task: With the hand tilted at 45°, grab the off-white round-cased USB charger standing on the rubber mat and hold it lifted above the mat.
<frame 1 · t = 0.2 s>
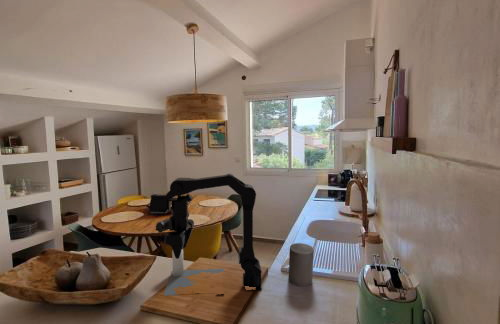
hand: (180, 252, 103), 14 cm above the kitchen counter, tool pointing down, fingers open, 9 cm apart
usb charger: (178, 273, 114), point 1 cm above the kitchen counter, touching desk mat
pillar candle: (300, 280, 112), on the kitchen counter
desk mat: (196, 282, 109), on the kitchen counter
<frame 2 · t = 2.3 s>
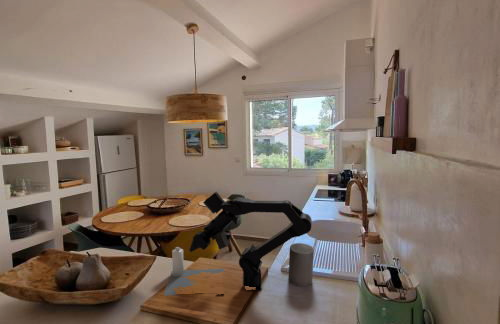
hand: (195, 246, 111), 14 cm above the kitchen counter, tool tilted 45°, fingers open, 9 cm apart
nothing on the kitchen counter moved.
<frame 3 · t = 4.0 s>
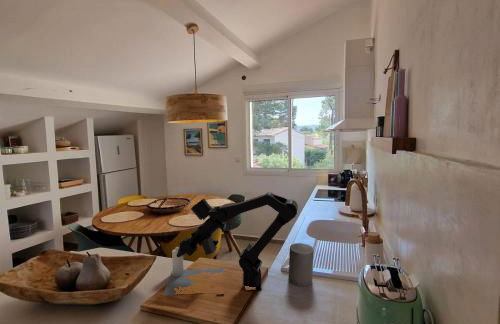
hand: (182, 251, 112), 11 cm above the kitchen counter, tool tilted 45°, fingers open, 9 cm apart
nothing on the kitchen counter moved.
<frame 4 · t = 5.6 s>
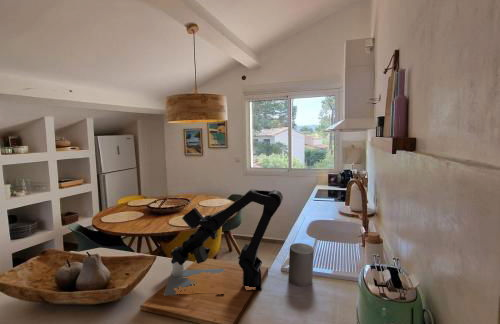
hand: (174, 260, 113), 7 cm above the kitchen counter, tool tilted 45°, fingers closed on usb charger, 4 cm apart
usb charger: (178, 273, 114), point 1 cm above the kitchen counter, touching desk mat, gripper
everything else where it was.
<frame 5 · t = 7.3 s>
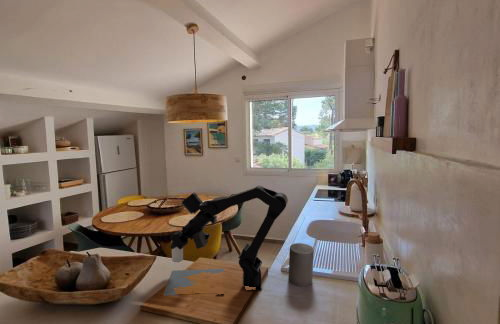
hand: (174, 245, 113), 13 cm above the kitchen counter, tool tilted 45°, fingers closed on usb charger, 4 cm apart
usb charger: (177, 259, 113), point 7 cm above the kitchen counter, touching gripper
everything else where it was.
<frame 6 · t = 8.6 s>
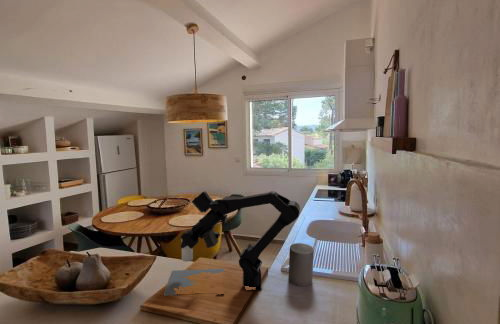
hand: (184, 245, 112), 14 cm above the kitchen counter, tool tilted 45°, fingers closed on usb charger, 4 cm apart
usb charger: (187, 259, 112), point 8 cm above the kitchen counter, touching gripper
everything else where it was.
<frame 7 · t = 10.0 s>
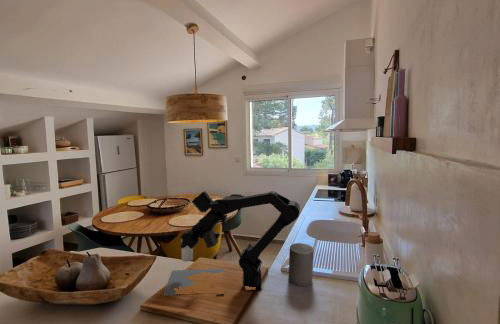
hand: (184, 245, 112), 14 cm above the kitchen counter, tool tilted 45°, fingers closed on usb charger, 4 cm apart
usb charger: (187, 259, 112), point 8 cm above the kitchen counter, touching gripper
everything else where it was.
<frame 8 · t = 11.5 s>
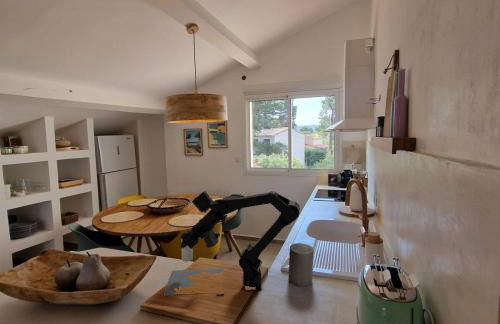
hand: (184, 245, 112), 14 cm above the kitchen counter, tool tilted 45°, fingers closed on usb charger, 4 cm apart
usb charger: (187, 259, 112), point 8 cm above the kitchen counter, touching gripper
everything else where it was.
at the end: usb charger point 7.7 cm above the kitchen counter; the gripper is holding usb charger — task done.
